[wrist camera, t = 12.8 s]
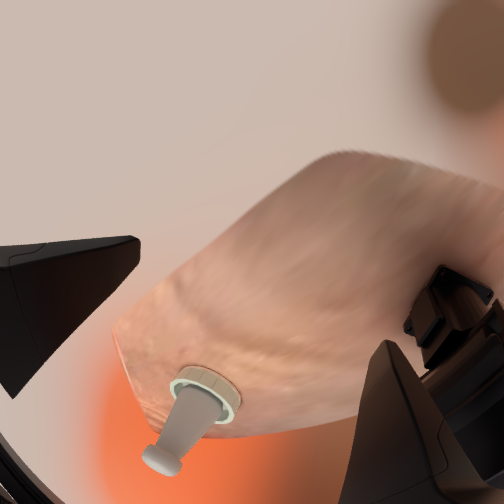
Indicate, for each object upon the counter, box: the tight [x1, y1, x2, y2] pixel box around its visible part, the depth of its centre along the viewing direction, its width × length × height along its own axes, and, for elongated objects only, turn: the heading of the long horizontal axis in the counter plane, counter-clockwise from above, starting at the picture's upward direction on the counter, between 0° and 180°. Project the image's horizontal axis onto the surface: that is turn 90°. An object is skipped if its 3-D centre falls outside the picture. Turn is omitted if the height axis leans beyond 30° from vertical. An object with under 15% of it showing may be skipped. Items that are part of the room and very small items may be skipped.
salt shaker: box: [142, 384, 223, 476], centre depth 25 cm, size 6×6×13 cm
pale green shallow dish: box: [170, 366, 241, 424], centre depth 30 cm, size 9×9×2 cm
